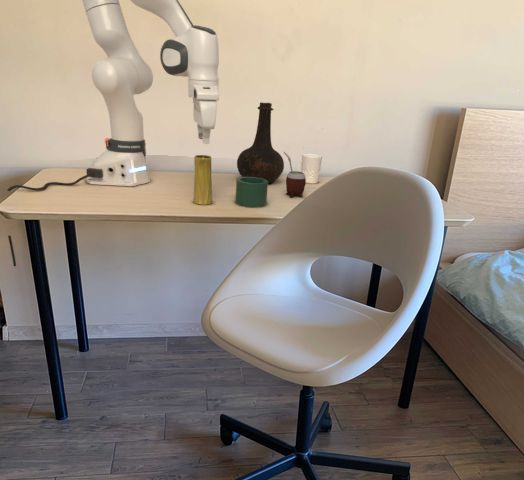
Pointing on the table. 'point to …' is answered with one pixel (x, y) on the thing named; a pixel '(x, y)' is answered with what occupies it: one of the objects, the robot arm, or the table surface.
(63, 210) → the table surface
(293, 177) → the mate gourd
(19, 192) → the table surface
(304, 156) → the white cup
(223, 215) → the table surface
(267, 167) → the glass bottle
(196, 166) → the vase
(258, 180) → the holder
